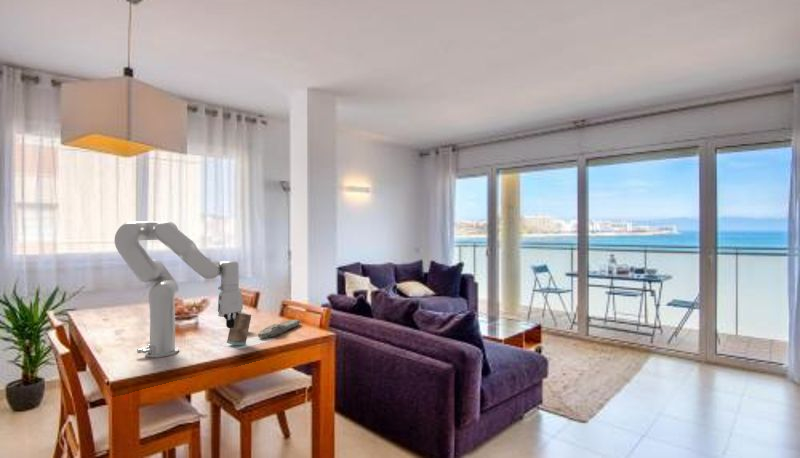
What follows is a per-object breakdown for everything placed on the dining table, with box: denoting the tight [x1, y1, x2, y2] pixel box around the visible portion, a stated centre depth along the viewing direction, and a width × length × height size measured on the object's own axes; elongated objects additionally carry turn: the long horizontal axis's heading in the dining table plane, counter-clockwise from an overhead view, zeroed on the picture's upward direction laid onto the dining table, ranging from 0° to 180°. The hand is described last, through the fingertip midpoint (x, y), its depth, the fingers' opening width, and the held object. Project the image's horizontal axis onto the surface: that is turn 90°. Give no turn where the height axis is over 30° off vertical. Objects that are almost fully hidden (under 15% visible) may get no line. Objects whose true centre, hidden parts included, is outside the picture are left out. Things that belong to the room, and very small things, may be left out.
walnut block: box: [226, 312, 252, 345], centre depth 192 cm, size 6×6×14 cm
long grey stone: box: [257, 319, 301, 338], centre depth 217 cm, size 35×5×10 cm
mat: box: [221, 335, 277, 351], centre depth 196 cm, size 22×12×1 cm, turn 142°
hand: (230, 327), depth 188 cm, fingers closed
